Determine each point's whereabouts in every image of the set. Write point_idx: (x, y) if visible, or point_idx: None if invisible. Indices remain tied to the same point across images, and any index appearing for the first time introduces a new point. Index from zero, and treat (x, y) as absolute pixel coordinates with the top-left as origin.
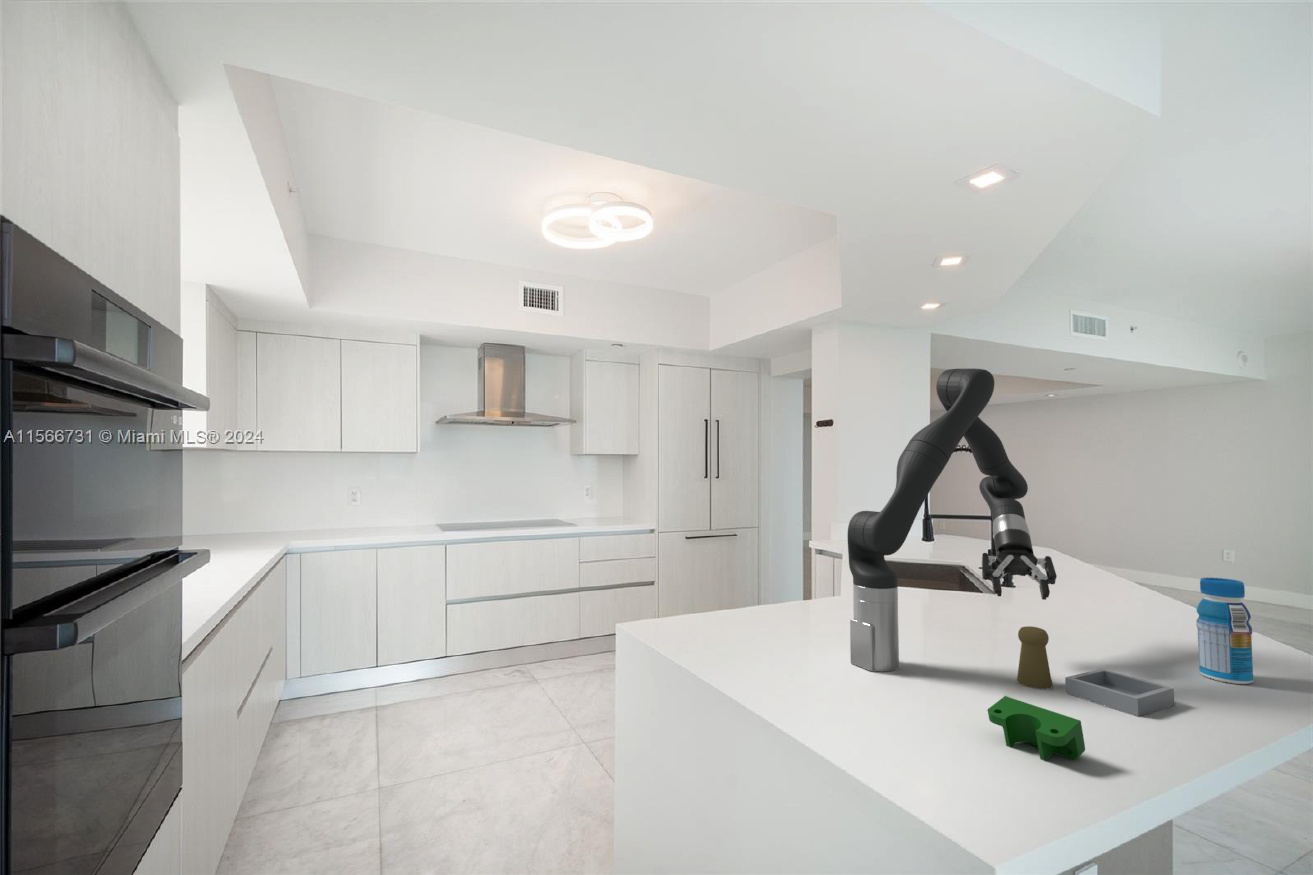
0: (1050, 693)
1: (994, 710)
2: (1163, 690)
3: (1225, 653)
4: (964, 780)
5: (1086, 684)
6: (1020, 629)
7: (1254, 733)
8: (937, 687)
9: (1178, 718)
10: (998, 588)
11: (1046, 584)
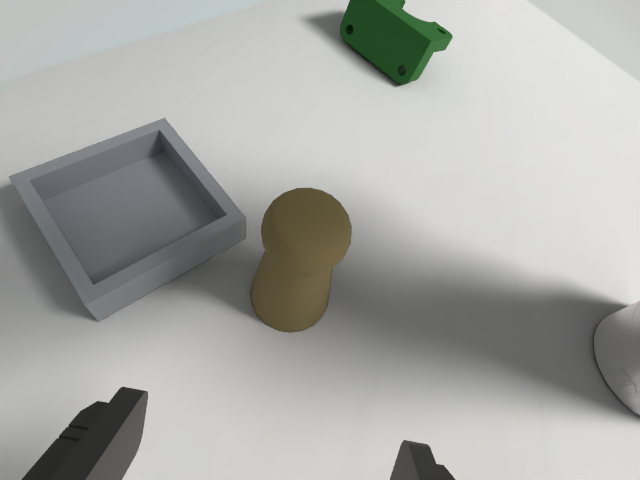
0: None
1: (444, 34)
2: (55, 160)
3: None
4: (467, 11)
5: (218, 185)
6: (348, 226)
7: (3, 97)
8: (500, 236)
9: (91, 142)
10: (429, 453)
11: (50, 465)
